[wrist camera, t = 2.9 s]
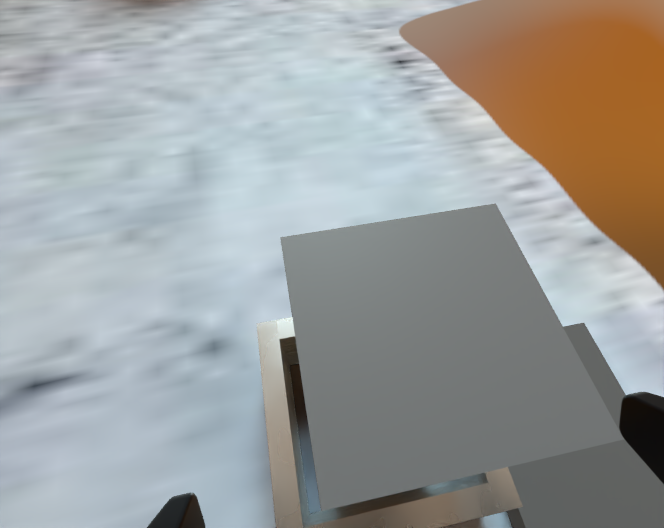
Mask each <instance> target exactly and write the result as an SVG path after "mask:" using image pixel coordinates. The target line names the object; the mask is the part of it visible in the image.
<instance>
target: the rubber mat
mask: <svg viewBox="0 0 664 528" xmlns="http://www.w3.org/2000/svg"><path fill="white" fill-rule="evenodd" d="M563 328H564V330H565V332H566V334H567V336H568V337H569V339H570V341H571V343H572V345H573V347H574V348H575V350H576V352H577V354H578V356H579V358H580V359H581V361H582V363H583V365H584V367H585V369H586V370H587V372H588V374H589V376H590V378H591V380H592V381H593V383H594V385H595V387H596V389H597V391H598V392H599V394H600V396H601V398H602V400H603V402H604V403H605V405H606V407H607V409H608V411H609V413H610V414H611V416H612V418H613V420H614V422H615V424H616V425H617V427H618V429H619V421H620V411H621V402H622V399H623V397H624V396H626V395H625V393H624V391H623V390H622V388H621V386H620V384H619V383H618V381H617V379H616V377H615V376H614V374H613V372H612V371H611V369H610V367H609V365H608V364H607V362H606V360H605V359H604V357H603V355H602V353H601V352H600V350H599V348H598V346H597V345H596V343H595V341H594V340H593V338H592V336H591V334H590V333H589V331H588V329H587V327H586V326H585V324H584V323H580V324H575V325H570V326H565V327H563ZM619 431H620V429H619ZM620 433H621V432H620ZM508 469H509V472H510V474H511V477H512V479H513V482H514V485H515V487H516V490H517V492H518V495H519V498H520V500H521V503H522V505H523V507H520V508H516V509H512V510H508V511H507V513H508V516H509V518H510V521H511V524H512V527H513V528H664V484H663V483H662V482H661V481H660V480H659V478H658V477H657V476H656V475H655V474H654V473H653V472H652V470H651V469H650V468H649V467H648V466H647V465H646V464H645V462H644V461H643V460H642V459H641V458H640V457H639V456H638V454H637V453H636V452H635V451H634V450H633V449H632V448H631V446H630V445H629V444H628V443H627V442H626V441H625V439H624V440H620V441H615V442H611V443H607V444H603V445H599V446H594V447H590V448H586V449H582V450H577V451H573V452H569V453H565V454H561V455H556V456H552V457H548V458H544V459H540V460H535V461H531V462H527V463H523V464H519V465H514V466H510V467H508Z"/></svg>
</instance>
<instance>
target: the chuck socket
mask: <svg viewBox="0 0 664 528" xmlns="http://www.w3.org/2000/svg"><path fill="white" fill-rule="evenodd" d="M257 333H258V343H259V354H260V364H261V375H262V385H263V396H264V406H265V417H266V427H267V438H268V448H269V459H270V469H271V480H272V491H273V501H274V512H275V522H276V528H440V527H444V526H448V525H452V524H456V523H460V522H464V521H468V520H472V519H476V518H480V517H484V516H488V515H492V514H496V513H500V512H504V511H508V510H512V509H516V508H520V507H523V505H522V503H521V500H520V498H519V495H518V492H517V490H516V487H515V485H514V482H513V479H512V477H511V474H510V472H509V469H508V467H506V468H502V469H497V470H493V471H489V472H485V473H481V474H476V475H472V476H468V477H464V478H460V479H455V480H451V481H447V482H443V483H439V484H434V485H430V486H426V487H422V488H417V489H413V490H409V491H405V492H401V493H396V494H392V495H388V496H384V497H380V498H375V499H371V500H367V501H363V502H358V503H354V504H350V505H346V506H342V507H337V508H333V509H329V510H325V511H320V512H316V513H311V514H310V513H309V506H308V499H307V491H306V484H305V477H304V469H303V462H302V454H301V447H300V440H299V432H298V425H297V417H296V410H295V403H294V395H293V388H292V380H291V373H290V365H295V364H299V359H298V352H297V345H296V339H295V332H294V325H293V318H292V317H290V318H285V319H279V320H274V321H268V322H263V323H257Z"/></svg>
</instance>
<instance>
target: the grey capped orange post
mask: <svg viewBox="0 0 664 528" xmlns="http://www.w3.org/2000/svg"><path fill="white" fill-rule="evenodd" d="M281 245H282V251H283V258H284V265H285V272H286V278H287V285H288V292H289V298H290V305H291V312H292V318H293V325H294V332H295V339H296V345H297V352H298V359H299V365H300V372H301V379H302V385H303V392H304V399H305V406H306V412H307V419H308V426H309V432H310V439H311V446H312V453H313V459H314V466H315V473H316V479H317V486H318V493H319V499H320V506H321V511H325V510H329V509H333V508H337V507H342V506H346V505H350V504H354V503H358V502H363V501H367V500H371V499H375V498H380V497H384V496H388V495H392V494H396V493H401V492H405V491H409V490H413V489H417V488H422V487H426V486H430V485H434V484H439V483H443V482H447V481H451V480H455V479H460V478H464V477H468V476H472V475H476V474H481V473H485V472H489V471H493V470H497V469H502V468H506V467H510V466H514V465H519V464H523V463H527V462H531V461H535V460H540V459H544V458H548V457H552V456H556V455H561V454H565V453H569V452H573V451H577V450H582V449H586V448H590V447H594V446H599V445H603V444H607V443H611V442H615V441H620V440H624V438H623V436H622V435H621V433H620V431H619V429H618V427H617V425H616V424H615V422H614V420H613V418H612V416H611V414H610V413H609V411H608V409H607V407H606V405H605V403H604V402H603V400H602V398H601V396H600V394H599V392H598V391H597V389H596V387H595V385H594V383H593V381H592V380H591V378H590V376H589V374H588V372H587V370H586V369H585V367H584V365H583V363H582V361H581V359H580V358H579V356H578V354H577V352H576V350H575V348H574V347H573V345H572V343H571V341H570V339H569V337H568V336H567V334H566V332H565V330H564V328H563V326H562V325H561V323H560V321H559V319H558V317H557V315H556V314H555V312H554V310H553V308H552V306H551V304H550V303H549V301H548V299H547V297H546V295H545V293H544V292H543V290H542V288H541V286H540V284H539V282H538V281H537V279H536V277H535V275H534V273H533V271H532V269H531V268H530V266H529V264H528V262H527V260H526V258H525V257H524V255H523V253H522V251H521V249H520V247H519V246H518V244H517V242H516V240H515V238H514V236H513V235H512V233H511V231H510V229H509V227H508V225H507V224H506V222H505V220H504V218H503V216H502V214H501V213H500V211H499V209H498V207H497V205H496V204H490V205H484V206H478V207H471V208H465V209H458V210H452V211H446V212H439V213H433V214H427V215H420V216H414V217H408V218H401V219H395V220H389V221H382V222H376V223H370V224H363V225H357V226H350V227H344V228H338V229H331V230H325V231H319V232H312V233H306V234H300V235H293V236H287V237H281Z"/></svg>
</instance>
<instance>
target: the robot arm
mask: <svg viewBox="0 0 664 528" xmlns="http://www.w3.org/2000/svg"><path fill="white" fill-rule="evenodd" d="M619 429H620V432H621V435H622V436H623V438H624V439H625V441H626V442H627V443H628V444H629V445H630V446H631V448H632V449H633V450H634V451H635V452H636V453H637V454H638V456H639V457H640V458H641V459H642V460H643V461H644V462H645V464H646V465H647V466H648V467H649V468H650V469H651V470H652V472H653V473H654V474H655V475H656V476H657V477H658V478H659V480H660V481H661V482H662V483H663V484H664V397H661V396H658V395H654V394H651V393H647V392H638V393H633V394H629V395H626V396H624V397H623V399H622V402H621V411H620V421H619ZM147 528H205V523H204V519H203V516H202V513H201V509H200V506H199V503H198V500H197V497H196V495H195V494H194V493H187V494H182V495H178V496H174V497H172V498H171V499H170V500H169V501H168V502H167V503H166V504H165V505H164V507H163V508H162V509H161V510H160V512H159V513H158V514H157V515H156V517H155V518H154V519H153V521H152V522H151V523H150V524H149V526H148V527H147Z"/></svg>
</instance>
